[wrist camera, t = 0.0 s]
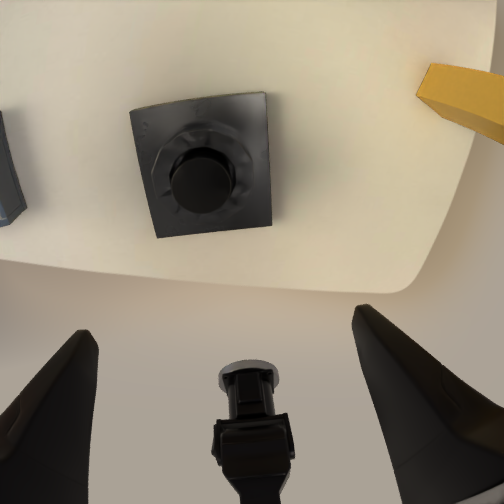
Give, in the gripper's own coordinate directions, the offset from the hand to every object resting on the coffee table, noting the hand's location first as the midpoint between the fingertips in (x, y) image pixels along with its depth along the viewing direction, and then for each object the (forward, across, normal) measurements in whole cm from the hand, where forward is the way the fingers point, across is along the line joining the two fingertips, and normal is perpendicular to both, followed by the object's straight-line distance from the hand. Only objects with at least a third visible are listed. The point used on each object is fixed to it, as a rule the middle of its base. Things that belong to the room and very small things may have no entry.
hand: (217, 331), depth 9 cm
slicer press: (+15, +1, -1) cm, 15 cm away
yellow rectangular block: (+15, -18, -7) cm, 24 cm away
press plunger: (+12, +1, -1) cm, 12 cm away
